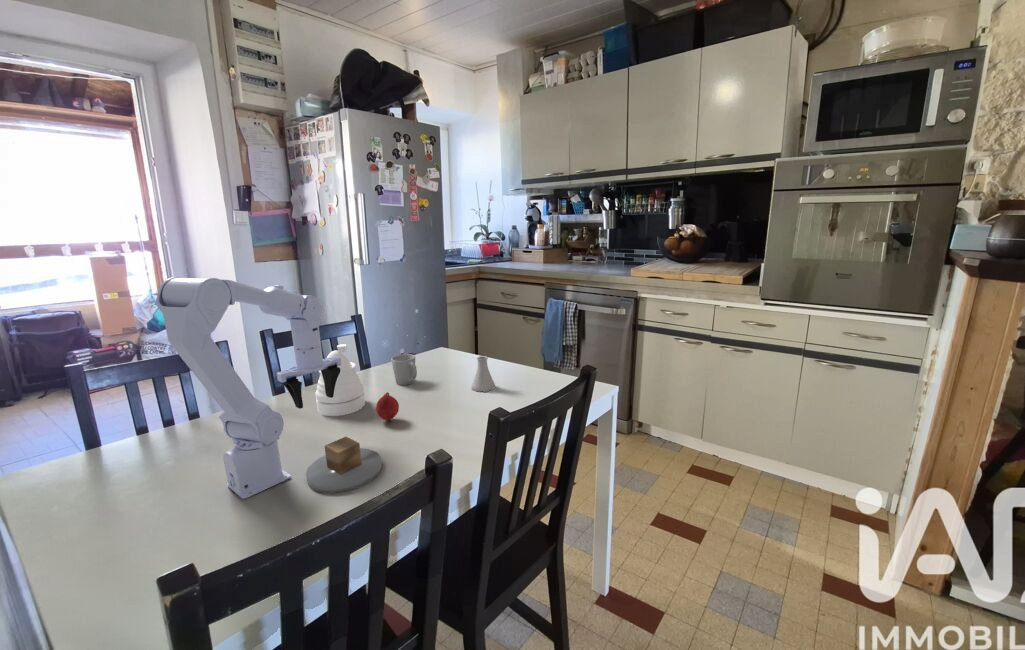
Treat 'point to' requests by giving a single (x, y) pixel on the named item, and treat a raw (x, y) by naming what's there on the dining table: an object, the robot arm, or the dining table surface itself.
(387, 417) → the onion
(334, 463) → the cube
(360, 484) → the plate
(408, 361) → the cup
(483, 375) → the flask
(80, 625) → the dining table surface
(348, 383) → the honey pot
